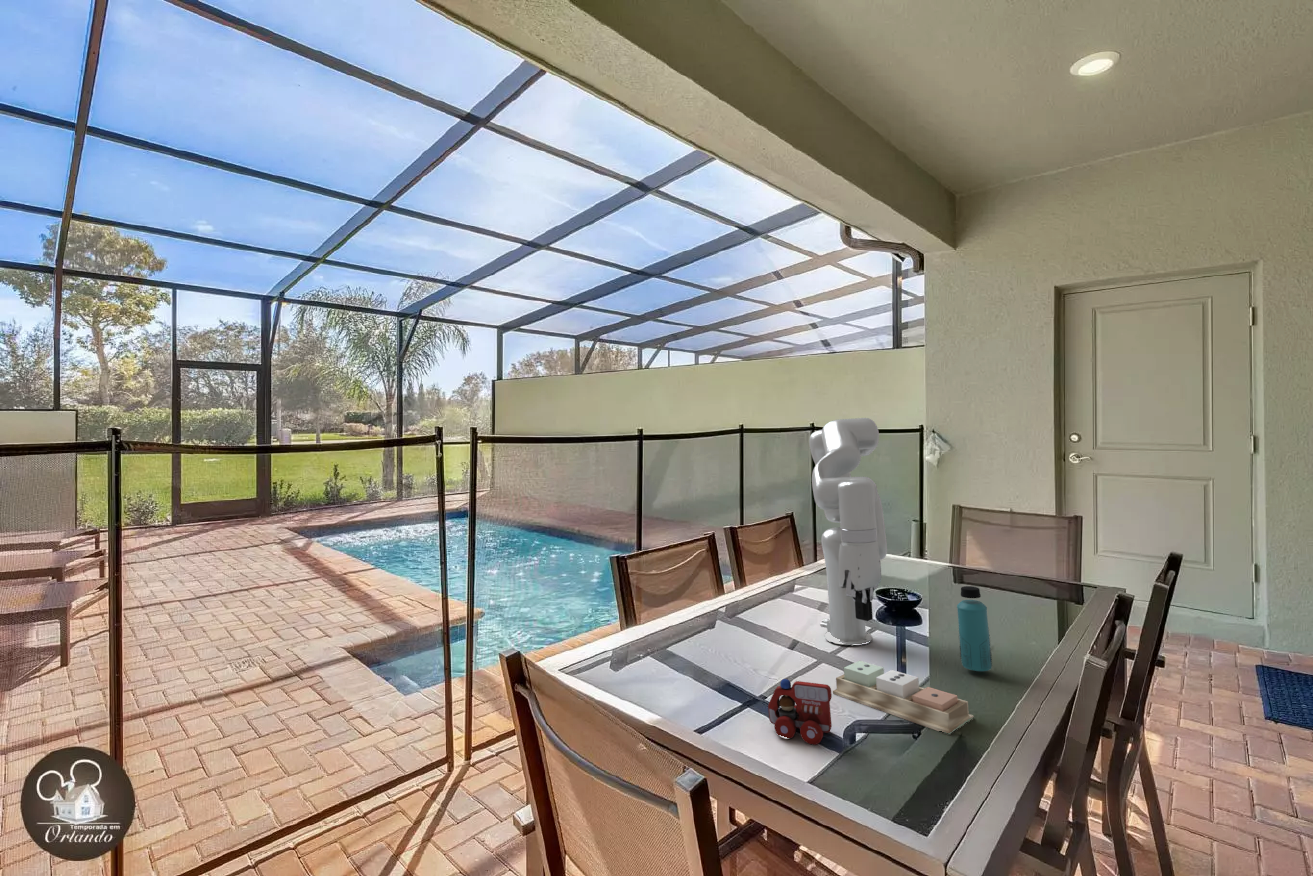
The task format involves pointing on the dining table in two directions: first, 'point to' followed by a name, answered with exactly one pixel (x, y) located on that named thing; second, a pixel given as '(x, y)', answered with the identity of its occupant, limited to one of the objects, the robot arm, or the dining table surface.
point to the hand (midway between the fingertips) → (864, 619)
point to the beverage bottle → (974, 631)
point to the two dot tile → (863, 673)
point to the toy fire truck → (801, 710)
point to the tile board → (904, 706)
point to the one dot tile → (935, 699)
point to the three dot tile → (897, 684)
